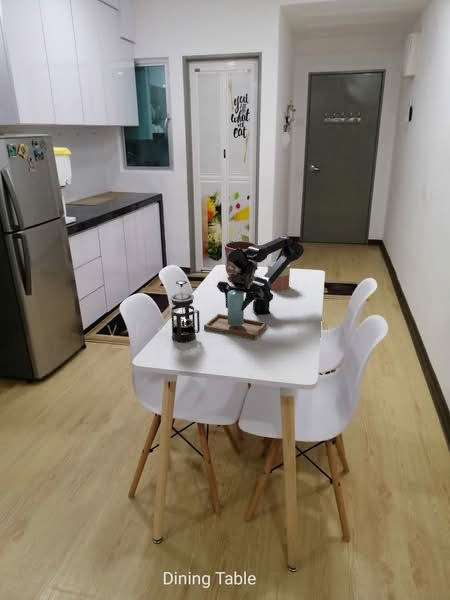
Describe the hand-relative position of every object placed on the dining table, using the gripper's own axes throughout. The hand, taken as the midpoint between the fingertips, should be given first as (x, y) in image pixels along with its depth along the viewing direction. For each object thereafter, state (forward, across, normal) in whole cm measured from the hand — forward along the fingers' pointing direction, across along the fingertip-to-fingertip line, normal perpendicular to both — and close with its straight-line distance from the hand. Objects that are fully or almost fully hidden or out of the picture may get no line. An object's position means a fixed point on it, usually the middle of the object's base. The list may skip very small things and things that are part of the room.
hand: (234, 309), depth 172 cm
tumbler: (+4, 0, +6) cm, 7 cm away
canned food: (-32, 0, +46) cm, 56 cm away
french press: (+17, -14, -4) cm, 22 cm away
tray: (+6, 0, +7) cm, 9 cm away
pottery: (-36, -24, +50) cm, 66 cm away
